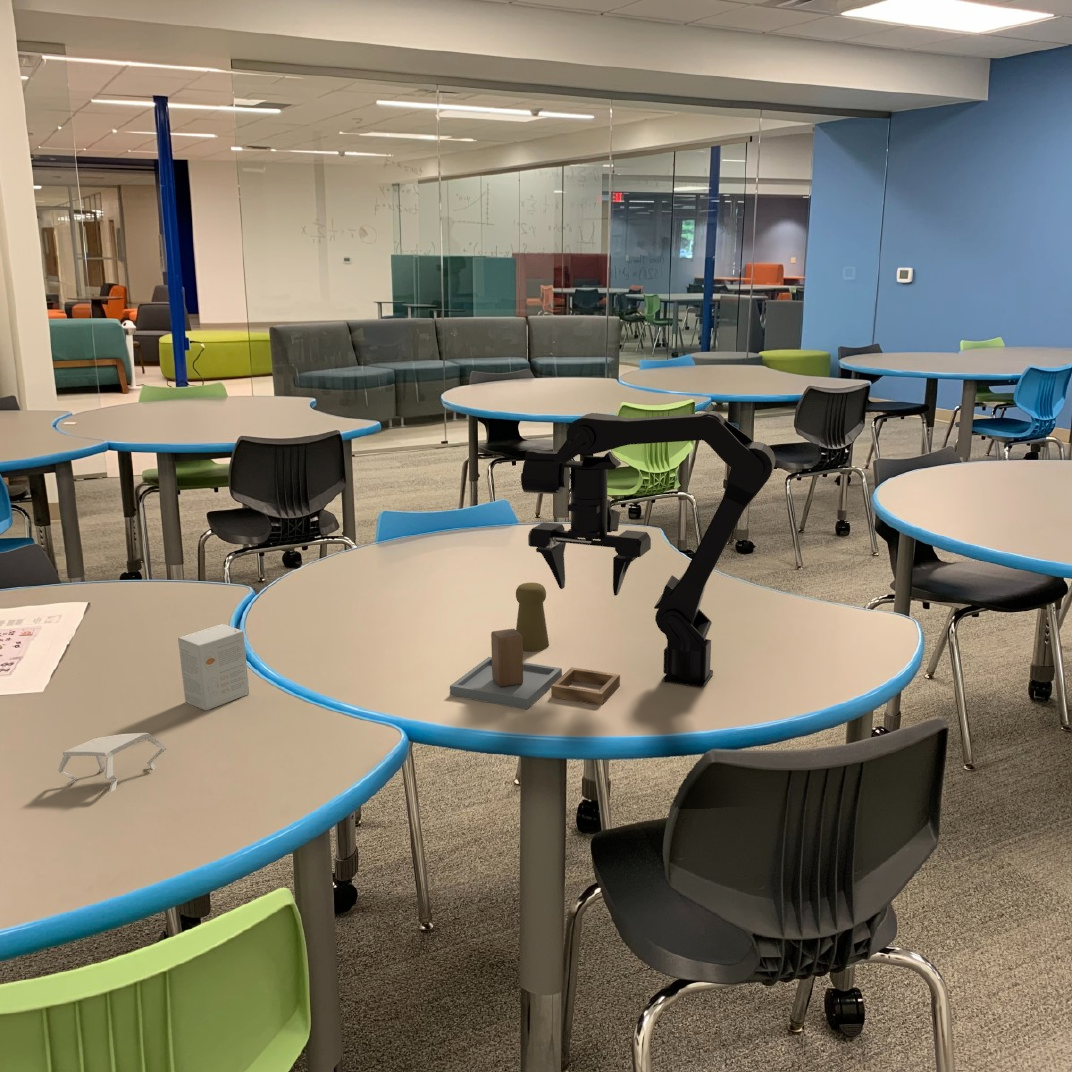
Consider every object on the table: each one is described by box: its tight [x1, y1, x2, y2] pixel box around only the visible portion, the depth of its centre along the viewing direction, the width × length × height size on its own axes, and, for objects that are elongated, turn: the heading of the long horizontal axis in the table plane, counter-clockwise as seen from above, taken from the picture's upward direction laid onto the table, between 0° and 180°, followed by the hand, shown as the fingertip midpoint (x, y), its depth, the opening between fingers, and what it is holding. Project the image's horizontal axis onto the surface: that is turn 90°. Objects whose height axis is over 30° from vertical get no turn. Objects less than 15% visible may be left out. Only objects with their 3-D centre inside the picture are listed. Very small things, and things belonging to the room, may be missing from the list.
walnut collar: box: [550, 666, 621, 706], centre depth 155 cm, size 8×8×2 cm
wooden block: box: [490, 628, 524, 687], centre depth 156 cm, size 4×4×8 cm
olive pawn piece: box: [515, 582, 550, 652], centre depth 173 cm, size 6×6×11 cm
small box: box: [177, 623, 250, 711], centre depth 153 cm, size 8×6×10 cm
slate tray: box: [449, 656, 563, 710], centre depth 157 cm, size 13×13×2 cm
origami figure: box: [57, 732, 168, 793], centre depth 130 cm, size 12×8×5 cm
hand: (588, 591), depth 161 cm, fingers open, 9 cm apart
